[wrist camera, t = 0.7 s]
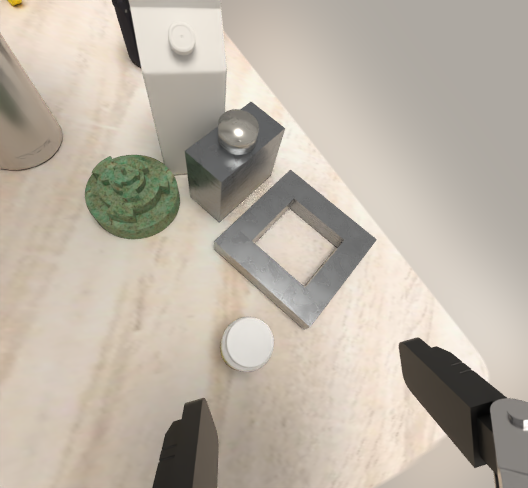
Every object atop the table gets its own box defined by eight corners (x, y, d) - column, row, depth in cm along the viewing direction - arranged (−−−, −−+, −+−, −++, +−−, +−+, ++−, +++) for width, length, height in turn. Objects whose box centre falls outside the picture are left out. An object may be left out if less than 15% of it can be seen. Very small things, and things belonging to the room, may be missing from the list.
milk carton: (161, 132, 41) (123, -39, 24) (213, 128, 43) (213, -34, 25) (167, 176, 39) (130, 22, 21) (222, 170, 40) (229, 23, 23)
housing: (172, 211, 37) (157, 154, 27) (248, 149, 42) (259, 82, 32) (303, 329, 34) (341, 314, 24) (367, 246, 40) (420, 206, 29)
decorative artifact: (186, 231, 37) (172, 163, 40) (180, 202, 30) (165, 124, 33) (96, 246, 34) (90, 173, 37) (70, 219, 28) (64, 133, 31)
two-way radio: (168, 64, 46) (149, -64, 32) (149, 81, 44) (121, -48, 30) (138, 47, 46) (107, -88, 32) (118, 62, 44) (76, -73, 31)
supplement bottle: (255, 318, 34) (268, 304, 26) (270, 360, 33) (288, 359, 25) (214, 333, 33) (214, 323, 25) (227, 377, 31) (232, 382, 24)
